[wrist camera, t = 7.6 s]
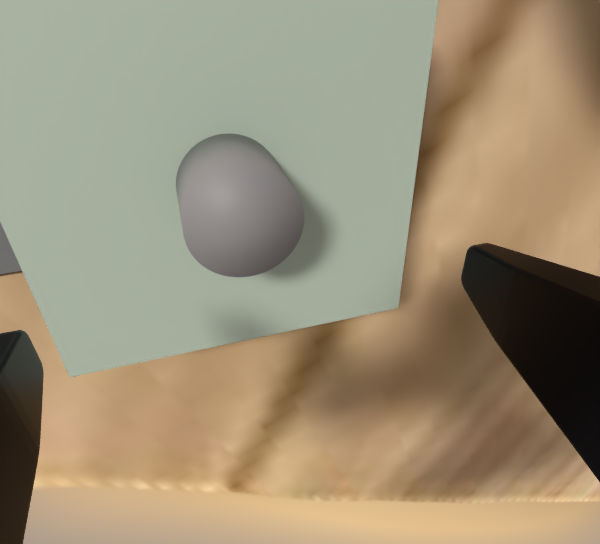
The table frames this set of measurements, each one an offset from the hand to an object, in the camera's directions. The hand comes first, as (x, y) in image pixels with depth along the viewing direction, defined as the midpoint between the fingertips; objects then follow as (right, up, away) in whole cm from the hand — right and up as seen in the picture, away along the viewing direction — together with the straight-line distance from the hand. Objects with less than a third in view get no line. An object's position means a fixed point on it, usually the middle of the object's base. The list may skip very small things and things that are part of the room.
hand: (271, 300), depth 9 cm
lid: (-2, +4, +6) cm, 7 cm away
